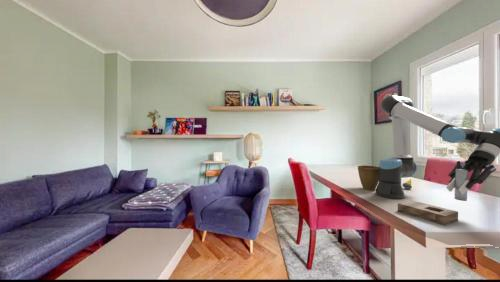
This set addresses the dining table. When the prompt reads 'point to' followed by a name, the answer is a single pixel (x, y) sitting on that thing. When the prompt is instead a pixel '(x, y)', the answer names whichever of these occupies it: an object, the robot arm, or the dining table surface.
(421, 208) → the tool block
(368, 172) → the plant pot
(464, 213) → the dining table surface
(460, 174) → the metal peg
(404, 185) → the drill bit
